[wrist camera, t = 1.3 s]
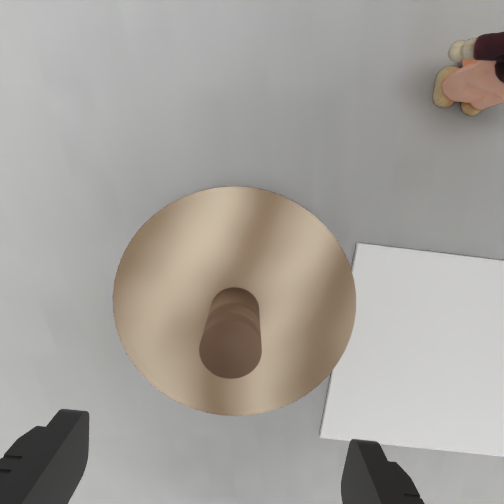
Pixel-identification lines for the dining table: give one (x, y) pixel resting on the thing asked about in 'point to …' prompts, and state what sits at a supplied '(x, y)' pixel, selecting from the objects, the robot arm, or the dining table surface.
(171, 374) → the lid
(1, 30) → the dining table surface
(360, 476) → the robot arm
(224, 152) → the dining table surface
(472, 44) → the grandmother figurine
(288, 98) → the dining table surface
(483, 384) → the mat
